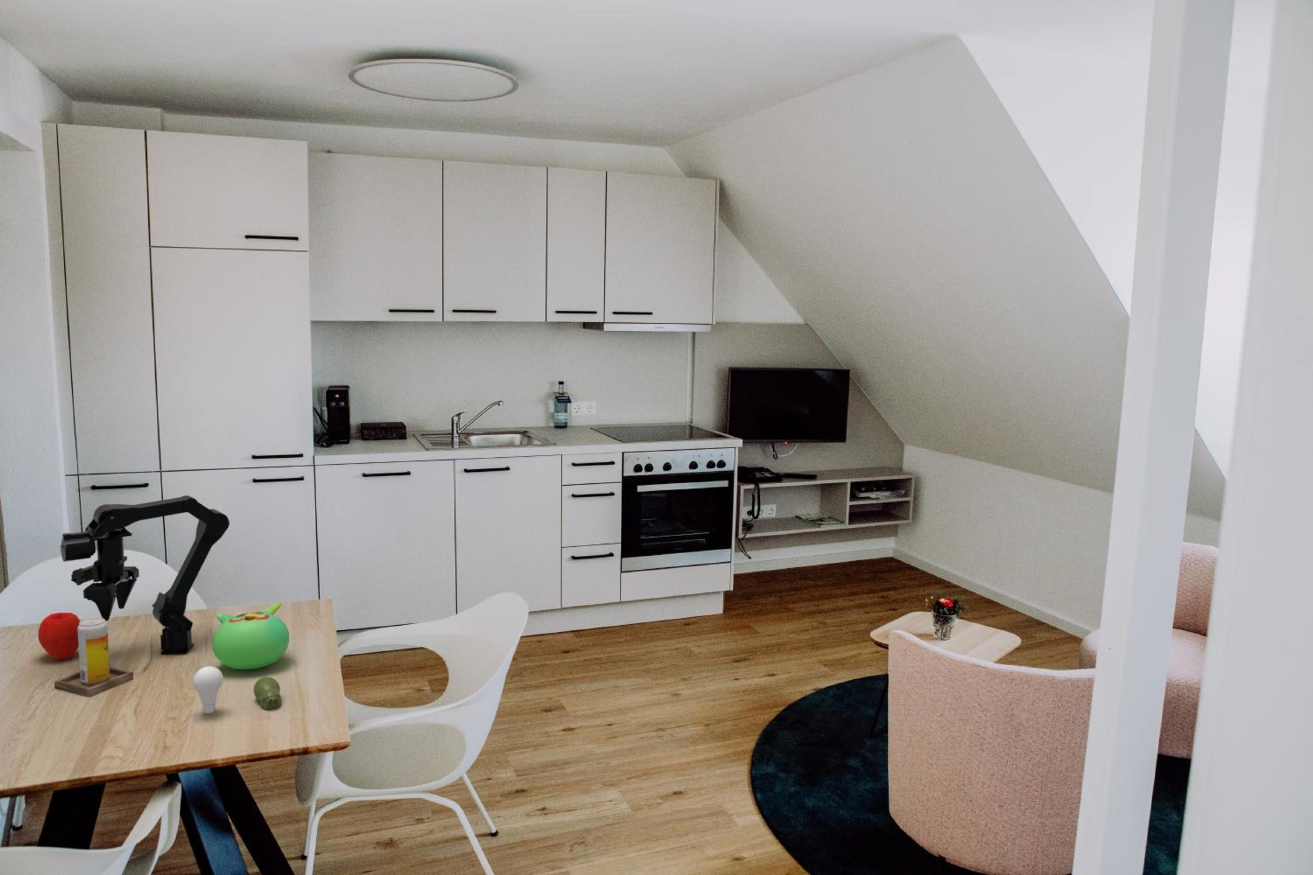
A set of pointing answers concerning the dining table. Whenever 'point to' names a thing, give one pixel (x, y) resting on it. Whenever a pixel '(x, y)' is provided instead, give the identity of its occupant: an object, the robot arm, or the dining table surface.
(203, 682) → the lightbulb
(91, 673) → the beer can
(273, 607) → the toy bird
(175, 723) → the dining table surface
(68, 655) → the apple
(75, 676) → the tray
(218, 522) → the robot arm
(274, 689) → the olive green rounded piece
